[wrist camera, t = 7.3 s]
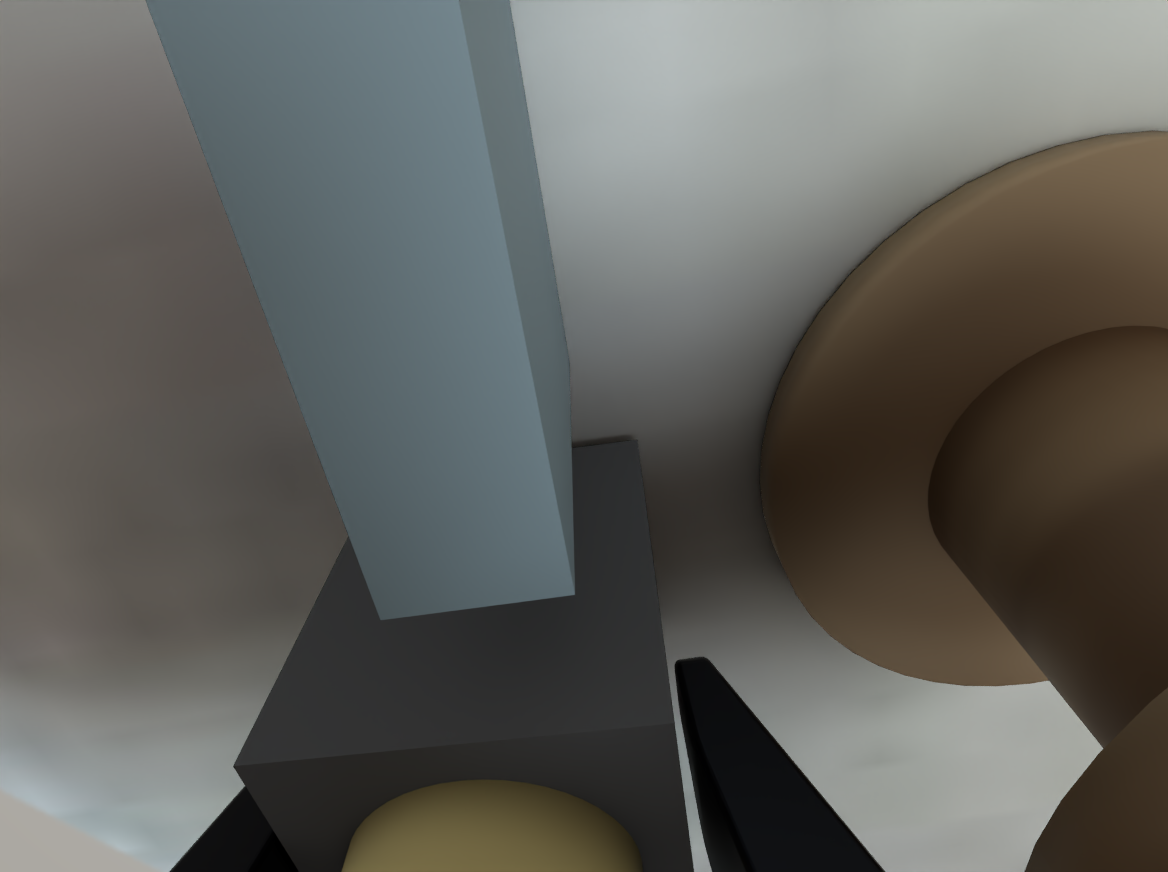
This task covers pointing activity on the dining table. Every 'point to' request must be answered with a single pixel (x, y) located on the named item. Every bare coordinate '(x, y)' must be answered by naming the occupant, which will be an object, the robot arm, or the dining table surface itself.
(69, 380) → the dining table surface
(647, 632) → the dark gray rectangular block
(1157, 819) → the bobbin
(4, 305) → the dining table surface
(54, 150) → the dining table surface
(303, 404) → the grey blocks
